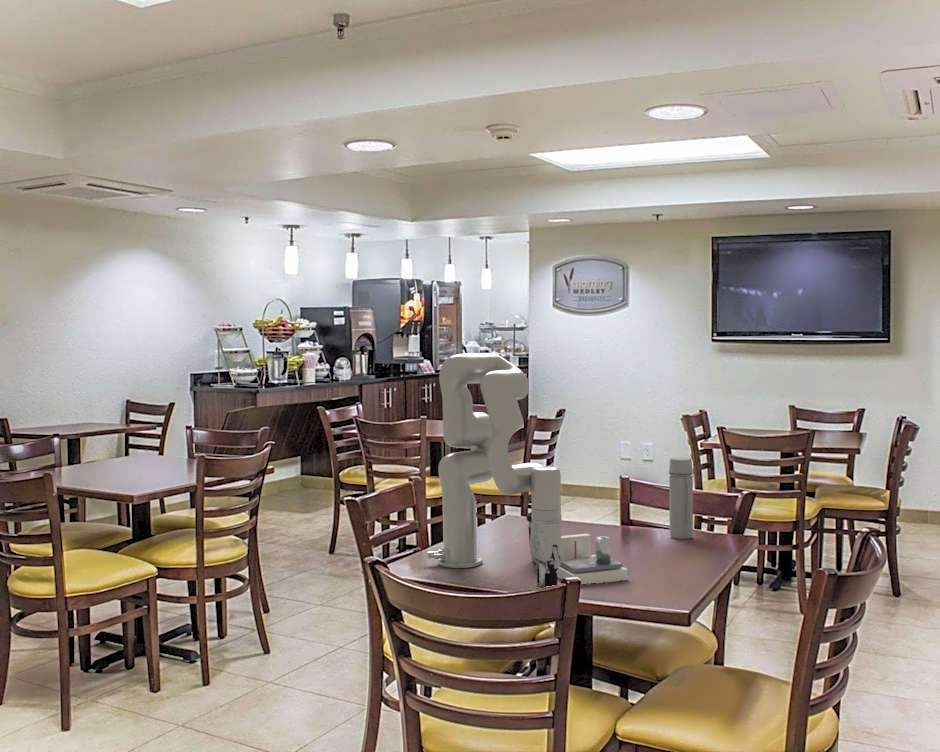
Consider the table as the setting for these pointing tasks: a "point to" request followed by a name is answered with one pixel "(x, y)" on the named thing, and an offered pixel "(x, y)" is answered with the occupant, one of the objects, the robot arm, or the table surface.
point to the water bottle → (681, 497)
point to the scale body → (582, 548)
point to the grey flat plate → (588, 564)
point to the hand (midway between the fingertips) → (547, 585)
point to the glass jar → (603, 549)
